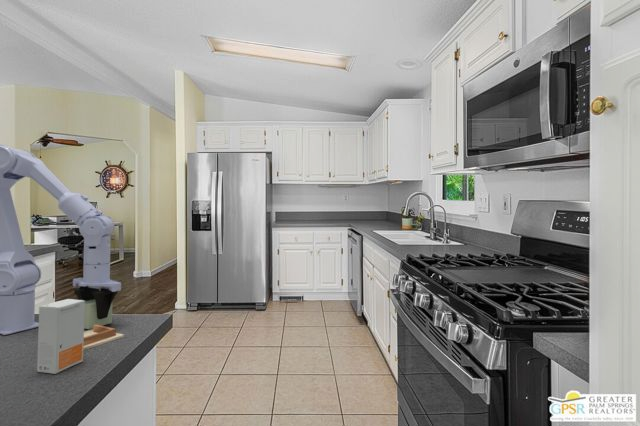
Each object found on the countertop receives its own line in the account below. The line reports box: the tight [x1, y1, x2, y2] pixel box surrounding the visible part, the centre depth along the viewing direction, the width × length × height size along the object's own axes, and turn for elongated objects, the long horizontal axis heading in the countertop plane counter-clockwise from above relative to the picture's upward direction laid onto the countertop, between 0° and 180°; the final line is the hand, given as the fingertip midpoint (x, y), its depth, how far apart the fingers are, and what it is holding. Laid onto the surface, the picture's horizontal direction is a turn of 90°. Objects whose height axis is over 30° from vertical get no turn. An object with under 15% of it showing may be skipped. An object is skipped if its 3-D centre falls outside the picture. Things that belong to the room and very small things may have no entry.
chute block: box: [84, 299, 114, 330], centre depth 91 cm, size 4×6×6 cm, turn 156°
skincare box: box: [36, 298, 85, 375], centre depth 67 cm, size 6×4×12 cm
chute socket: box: [83, 325, 125, 352], centre depth 80 cm, size 10×12×2 cm
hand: (95, 317), depth 91 cm, fingers closed on chute block, 4 cm apart
